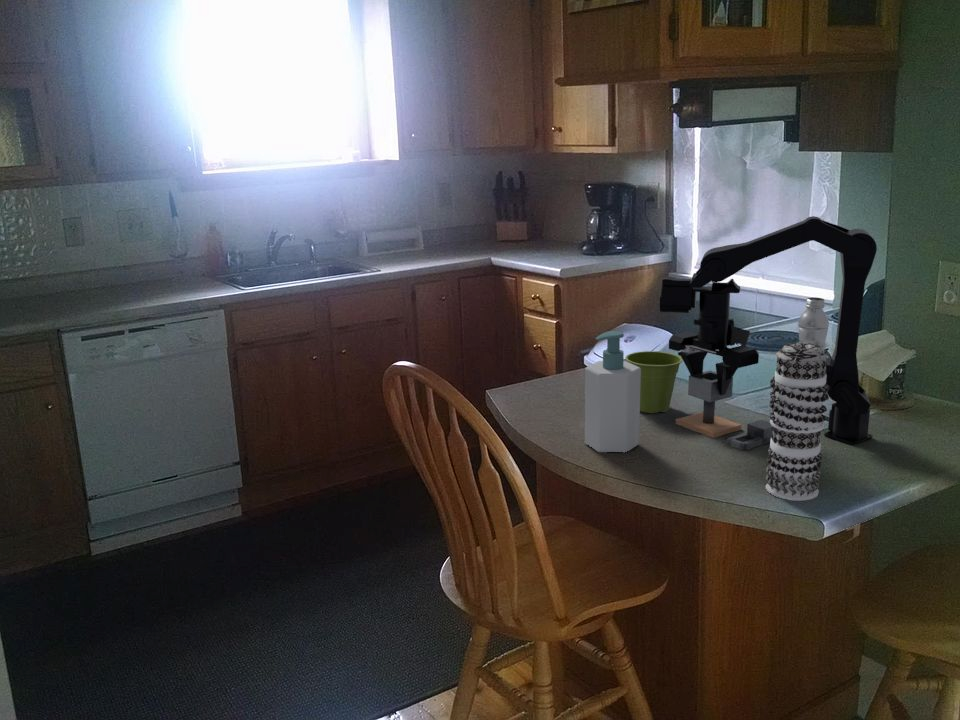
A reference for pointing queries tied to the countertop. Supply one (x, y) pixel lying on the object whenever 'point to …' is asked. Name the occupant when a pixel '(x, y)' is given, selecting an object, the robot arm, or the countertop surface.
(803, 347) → the decorative candle
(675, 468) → the countertop surface
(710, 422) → the tan board with knob
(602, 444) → the soap bottle
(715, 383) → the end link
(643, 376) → the plant pot
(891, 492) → the countertop surface
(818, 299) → the plastic bottle
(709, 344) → the robot arm
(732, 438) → the dark clasp block
